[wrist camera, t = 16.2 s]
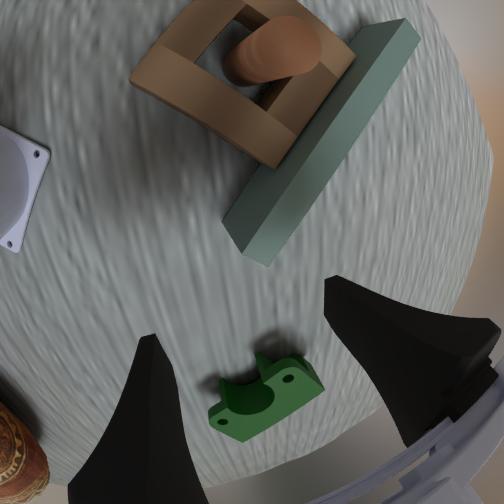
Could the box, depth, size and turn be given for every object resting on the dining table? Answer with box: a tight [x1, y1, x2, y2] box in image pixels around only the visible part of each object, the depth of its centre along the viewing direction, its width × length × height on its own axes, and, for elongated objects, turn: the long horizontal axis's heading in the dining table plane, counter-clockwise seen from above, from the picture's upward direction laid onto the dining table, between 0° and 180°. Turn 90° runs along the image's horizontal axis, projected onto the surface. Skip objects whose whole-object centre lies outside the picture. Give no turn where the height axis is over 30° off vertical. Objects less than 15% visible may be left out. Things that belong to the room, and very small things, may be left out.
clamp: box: [208, 352, 325, 443], centre depth 27 cm, size 12×6×9 cm, turn 122°
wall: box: [222, 18, 421, 267], centre depth 16 cm, size 2×20×5 cm, turn 144°
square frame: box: [128, 0, 356, 170], centre depth 14 cm, size 10×10×3 cm
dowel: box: [223, 16, 322, 87], centre depth 12 cm, size 3×3×7 cm
